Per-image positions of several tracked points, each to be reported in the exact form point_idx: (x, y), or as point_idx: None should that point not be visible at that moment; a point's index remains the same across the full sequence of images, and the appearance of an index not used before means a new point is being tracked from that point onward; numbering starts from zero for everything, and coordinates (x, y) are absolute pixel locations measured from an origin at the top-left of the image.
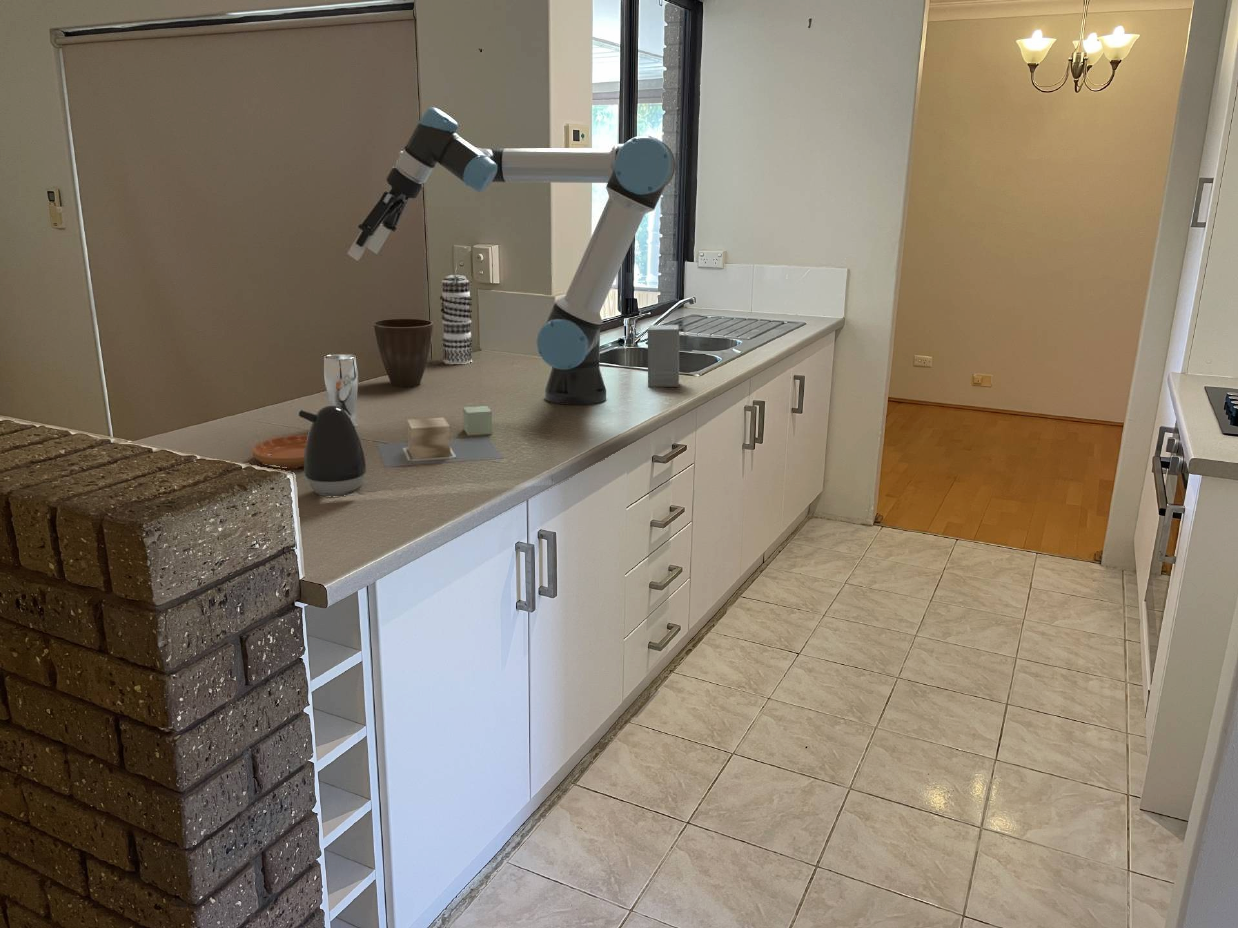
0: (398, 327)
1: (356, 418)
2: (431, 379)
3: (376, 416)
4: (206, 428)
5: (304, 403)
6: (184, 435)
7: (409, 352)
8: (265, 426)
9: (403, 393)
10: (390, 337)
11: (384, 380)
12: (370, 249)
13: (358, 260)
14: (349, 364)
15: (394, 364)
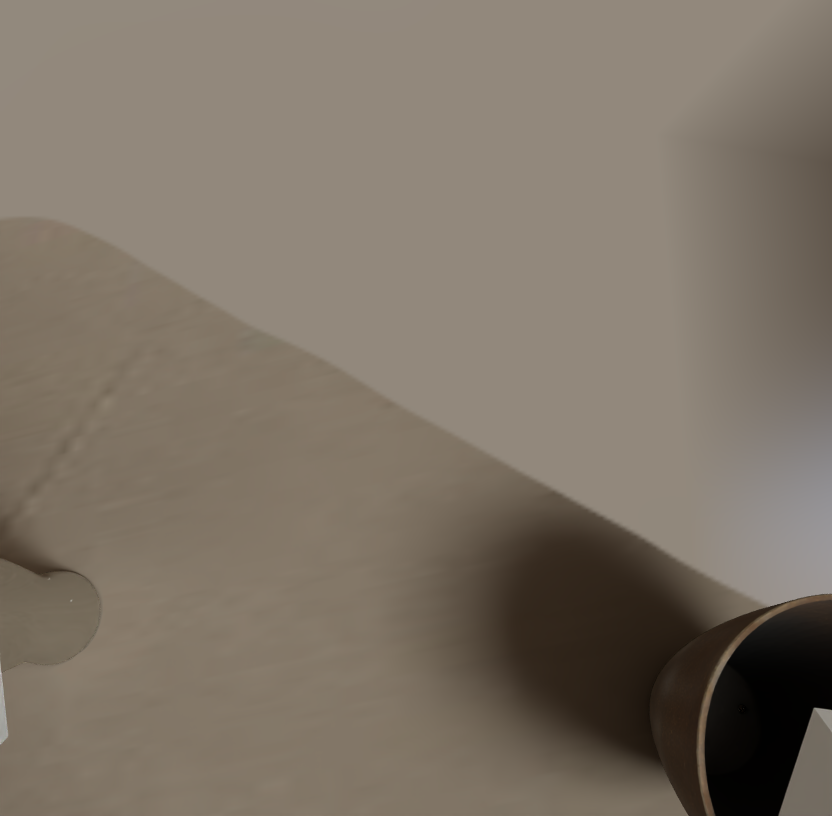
0: (702, 775)
1: (26, 662)
2: None
3: (166, 701)
4: (73, 253)
5: (362, 423)
6: (6, 227)
7: (676, 791)
8: (73, 389)
9: (531, 735)
10: (682, 709)
11: None
12: (801, 765)
13: (1, 736)
14: None
15: (656, 697)
